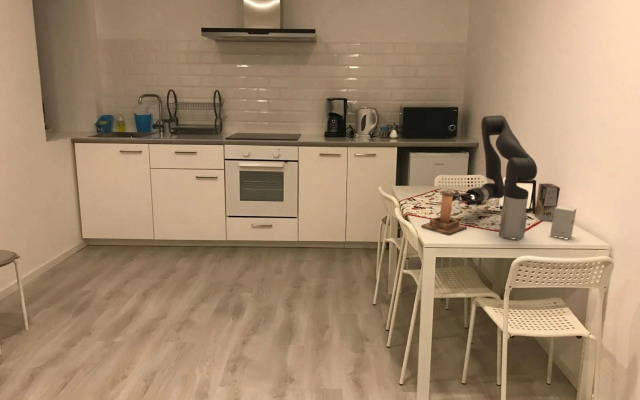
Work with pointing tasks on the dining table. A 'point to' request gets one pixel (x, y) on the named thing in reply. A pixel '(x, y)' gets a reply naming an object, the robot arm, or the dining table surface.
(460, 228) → the walnut socket board
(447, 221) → the wooden peg
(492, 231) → the dining table surface
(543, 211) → the coffee box
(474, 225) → the dining table surface
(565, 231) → the supplement box
